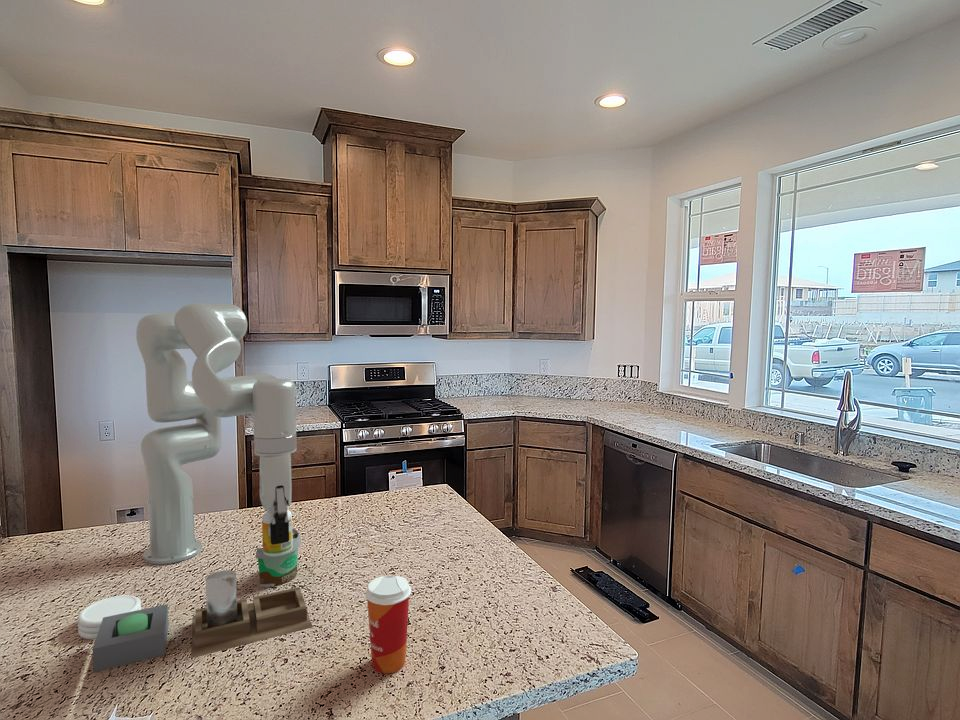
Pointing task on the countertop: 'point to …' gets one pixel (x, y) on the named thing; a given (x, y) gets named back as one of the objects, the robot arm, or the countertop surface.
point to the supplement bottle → (267, 546)
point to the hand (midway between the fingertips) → (278, 535)
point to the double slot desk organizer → (252, 622)
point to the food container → (279, 565)
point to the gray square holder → (130, 640)
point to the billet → (221, 598)
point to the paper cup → (388, 622)
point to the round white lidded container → (104, 613)
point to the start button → (133, 624)
